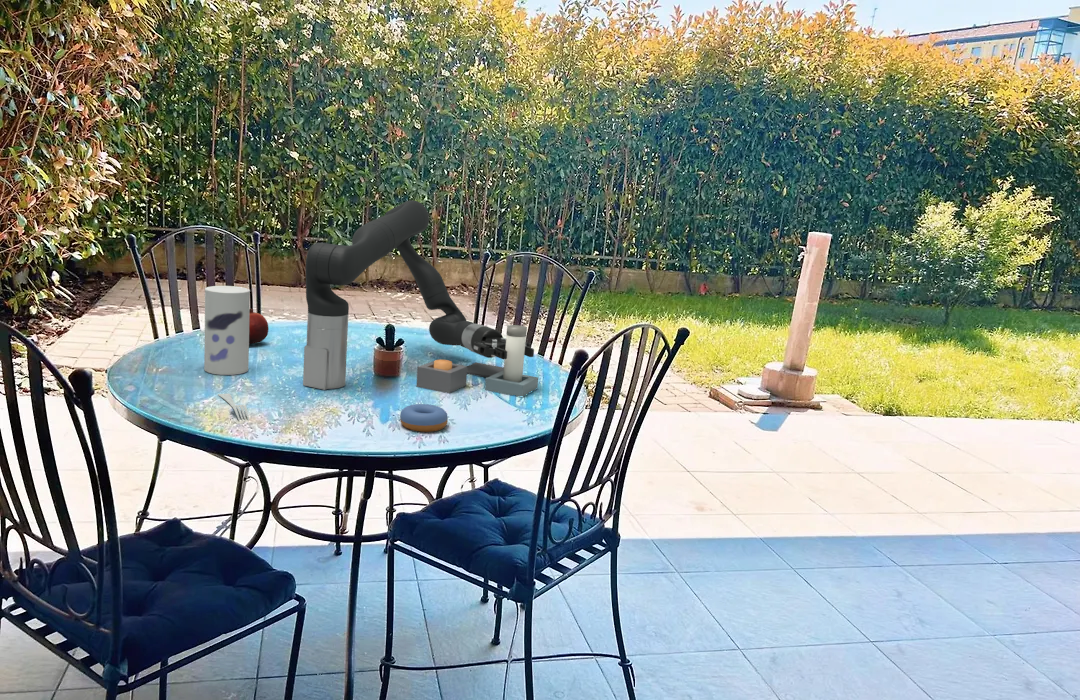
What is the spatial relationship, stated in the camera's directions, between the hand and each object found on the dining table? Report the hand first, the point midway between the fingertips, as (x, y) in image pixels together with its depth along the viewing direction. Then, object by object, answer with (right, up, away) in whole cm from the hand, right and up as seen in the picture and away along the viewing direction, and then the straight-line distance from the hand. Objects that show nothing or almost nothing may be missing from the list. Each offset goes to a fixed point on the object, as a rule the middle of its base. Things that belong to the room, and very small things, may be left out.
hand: (519, 354), depth 206 cm
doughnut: (-19, -15, -31) cm, 40 cm away
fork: (-59, -11, -31) cm, 68 cm away
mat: (-10, -5, +19) cm, 22 cm away
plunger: (-19, -7, 0) cm, 21 cm away
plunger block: (-19, -8, 0) cm, 21 cm away
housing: (-2, -9, +3) cm, 10 cm away
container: (-71, -4, -4) cm, 71 cm away
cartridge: (-2, -9, +3) cm, 10 cm away
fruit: (-76, +2, +24) cm, 79 cm away
